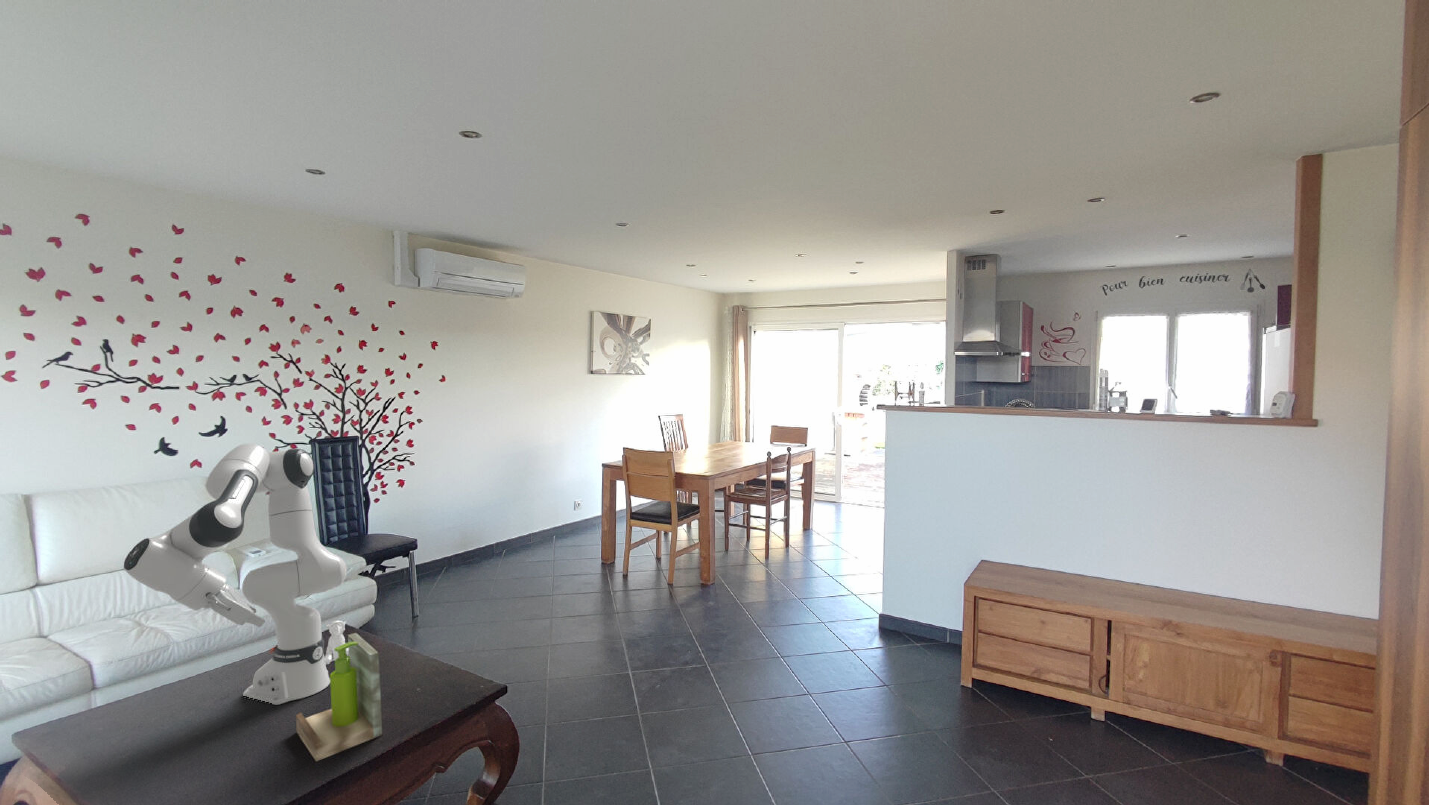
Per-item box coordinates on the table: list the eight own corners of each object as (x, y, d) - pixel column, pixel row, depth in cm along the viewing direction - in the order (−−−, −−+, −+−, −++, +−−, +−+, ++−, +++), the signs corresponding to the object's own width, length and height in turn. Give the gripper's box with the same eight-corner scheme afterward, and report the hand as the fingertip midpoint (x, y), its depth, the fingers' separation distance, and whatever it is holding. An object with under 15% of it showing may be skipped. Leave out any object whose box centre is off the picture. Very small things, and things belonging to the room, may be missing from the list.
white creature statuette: (323, 666, 201) (322, 629, 201) (317, 657, 207) (315, 622, 207) (356, 656, 208) (355, 621, 207) (349, 648, 214) (348, 614, 213)
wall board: (316, 761, 152) (311, 673, 151) (296, 732, 164) (292, 651, 163) (382, 734, 163) (378, 652, 162) (359, 709, 175) (355, 632, 174)
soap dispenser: (366, 715, 167) (363, 642, 165) (341, 729, 160) (338, 653, 159) (352, 710, 169) (349, 638, 168) (327, 723, 163) (323, 649, 162)
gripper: (223, 587, 138) (278, 617, 146) (208, 568, 152) (259, 596, 160) (199, 613, 135) (256, 642, 143) (186, 591, 149) (239, 618, 157)
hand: (258, 618), depth 151 cm, fingers open, 8 cm apart
